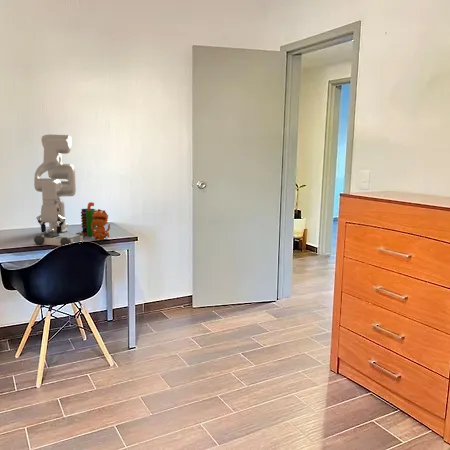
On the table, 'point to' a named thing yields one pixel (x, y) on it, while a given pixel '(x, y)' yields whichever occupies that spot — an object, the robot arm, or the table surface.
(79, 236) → the chassis
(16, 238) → the table surface
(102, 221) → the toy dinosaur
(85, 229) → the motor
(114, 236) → the table surface
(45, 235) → the engine block
